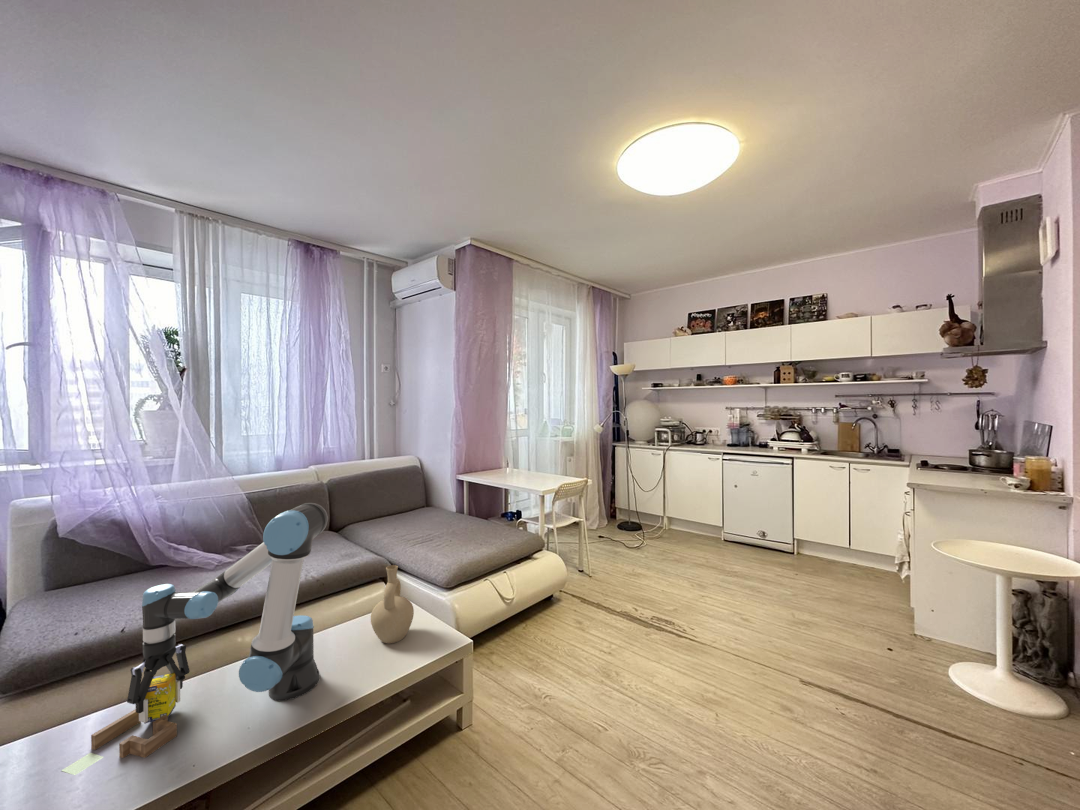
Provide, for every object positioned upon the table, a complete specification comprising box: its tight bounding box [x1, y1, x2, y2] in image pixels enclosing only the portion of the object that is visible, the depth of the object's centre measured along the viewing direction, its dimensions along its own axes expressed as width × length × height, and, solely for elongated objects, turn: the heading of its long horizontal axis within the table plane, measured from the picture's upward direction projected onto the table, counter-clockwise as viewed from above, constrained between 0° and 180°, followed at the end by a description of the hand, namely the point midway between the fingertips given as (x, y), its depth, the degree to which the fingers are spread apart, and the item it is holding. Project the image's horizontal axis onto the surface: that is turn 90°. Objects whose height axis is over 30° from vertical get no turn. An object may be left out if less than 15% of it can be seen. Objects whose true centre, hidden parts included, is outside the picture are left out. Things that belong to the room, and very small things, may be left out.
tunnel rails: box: [90, 708, 178, 759], centre depth 123 cm, size 19×11×4 cm, turn 74°
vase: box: [370, 564, 415, 644], centre depth 174 cm, size 17×17×30 cm
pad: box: [61, 752, 104, 776], centre depth 114 cm, size 10×6×1 cm, turn 74°
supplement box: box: [143, 673, 177, 725], centre depth 131 cm, size 6×6×11 cm
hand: (160, 710), depth 131 cm, fingers closed on supplement box, 8 cm apart
